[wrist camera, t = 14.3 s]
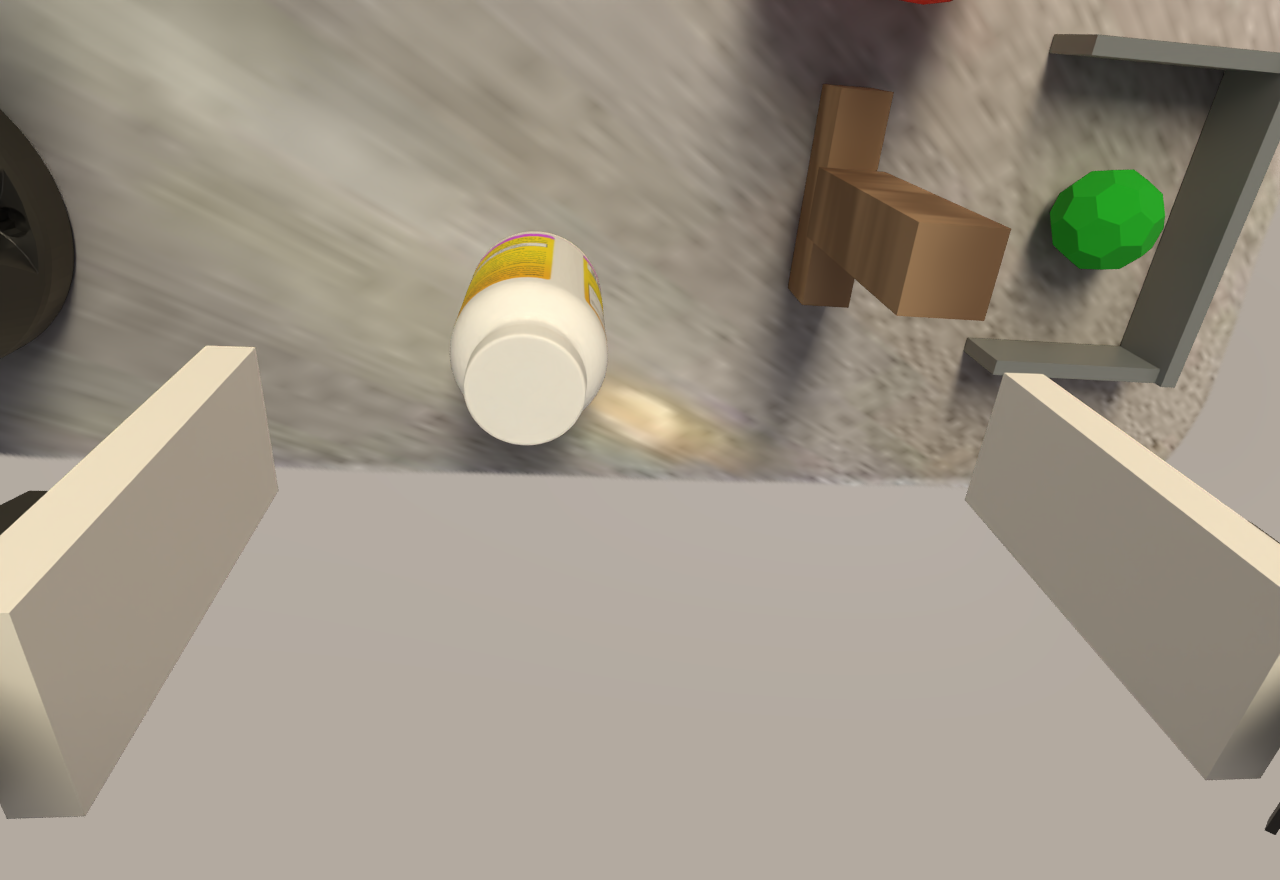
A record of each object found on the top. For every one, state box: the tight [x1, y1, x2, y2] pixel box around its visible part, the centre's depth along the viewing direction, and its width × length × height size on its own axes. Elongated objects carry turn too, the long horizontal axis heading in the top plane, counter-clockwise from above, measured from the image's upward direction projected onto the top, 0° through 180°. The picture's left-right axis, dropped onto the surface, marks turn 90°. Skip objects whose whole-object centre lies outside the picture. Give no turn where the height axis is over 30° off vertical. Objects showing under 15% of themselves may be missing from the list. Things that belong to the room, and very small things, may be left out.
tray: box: [964, 34, 1280, 388], centre depth 40 cm, size 10×16×4 cm, turn 175°
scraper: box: [788, 84, 1011, 321], centre depth 33 cm, size 3×10×15 cm, turn 175°
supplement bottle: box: [450, 231, 608, 445], centre depth 36 cm, size 7×7×13 cm
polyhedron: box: [1050, 170, 1165, 270], centre depth 39 cm, size 5×5×5 cm
